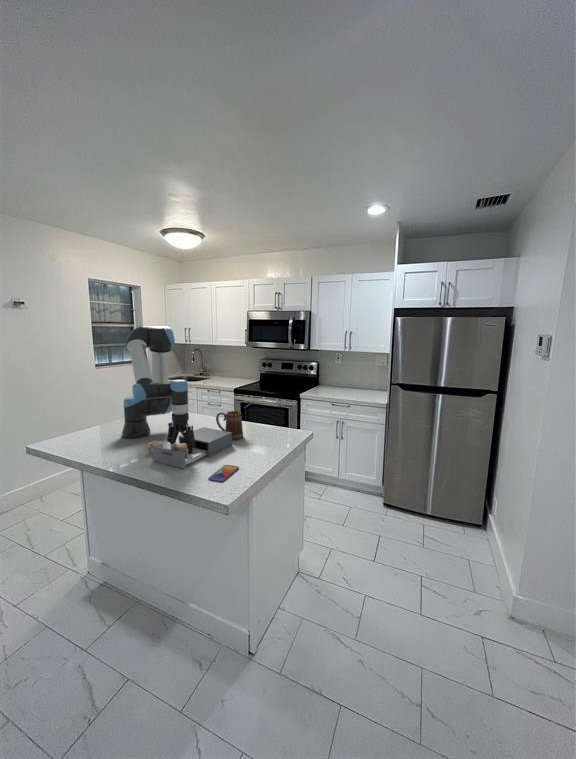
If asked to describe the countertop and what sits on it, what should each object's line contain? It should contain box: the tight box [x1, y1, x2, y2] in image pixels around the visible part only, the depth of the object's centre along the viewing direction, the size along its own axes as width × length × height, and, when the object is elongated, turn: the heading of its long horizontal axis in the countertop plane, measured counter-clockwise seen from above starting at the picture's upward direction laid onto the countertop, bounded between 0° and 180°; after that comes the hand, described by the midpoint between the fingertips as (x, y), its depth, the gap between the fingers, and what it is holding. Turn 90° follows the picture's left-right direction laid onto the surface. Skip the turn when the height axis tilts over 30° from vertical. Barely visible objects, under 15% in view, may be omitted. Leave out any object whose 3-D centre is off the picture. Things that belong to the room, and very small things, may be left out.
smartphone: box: [207, 464, 240, 483], centre depth 137 cm, size 7×15×1 cm, turn 162°
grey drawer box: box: [178, 426, 233, 458], centre depth 167 cm, size 18×20×8 cm
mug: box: [215, 410, 244, 441], centre depth 184 cm, size 16×11×15 cm
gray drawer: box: [152, 445, 208, 470], centre depth 152 cm, size 17×20×7 cm
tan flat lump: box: [170, 442, 190, 455], centre depth 152 cm, size 9×9×3 cm
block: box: [147, 440, 164, 455], centre depth 160 cm, size 5×5×5 cm
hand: (181, 458), depth 152 cm, fingers closed on tan flat lump, 9 cm apart
